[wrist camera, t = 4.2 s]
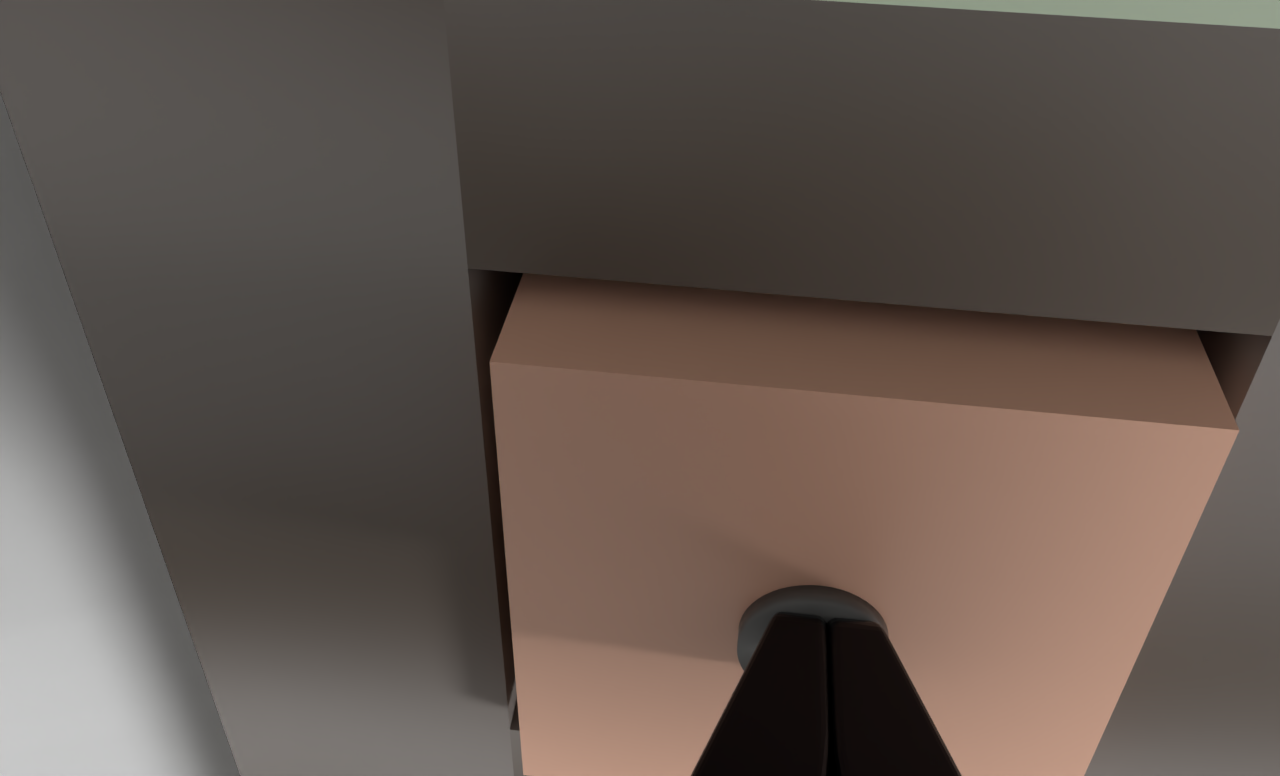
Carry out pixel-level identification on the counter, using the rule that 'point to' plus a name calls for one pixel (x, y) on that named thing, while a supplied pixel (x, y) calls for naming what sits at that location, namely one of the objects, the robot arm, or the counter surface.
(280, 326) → the tile board
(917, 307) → the tile one
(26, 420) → the counter surface
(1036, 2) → the tile two
